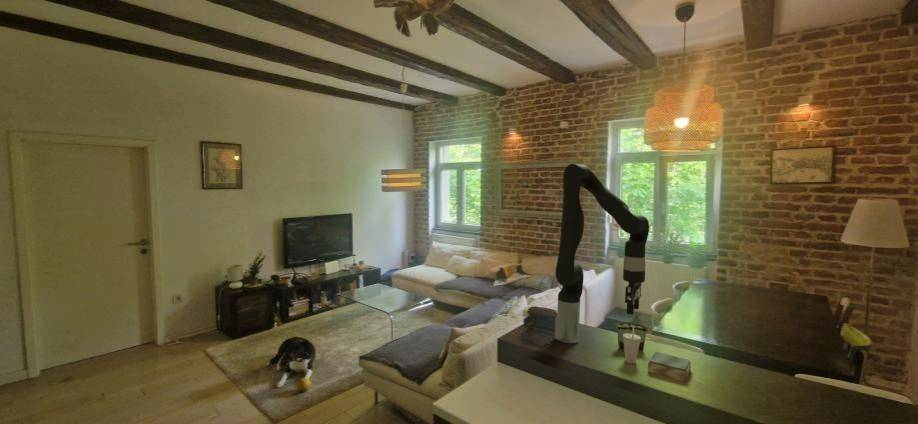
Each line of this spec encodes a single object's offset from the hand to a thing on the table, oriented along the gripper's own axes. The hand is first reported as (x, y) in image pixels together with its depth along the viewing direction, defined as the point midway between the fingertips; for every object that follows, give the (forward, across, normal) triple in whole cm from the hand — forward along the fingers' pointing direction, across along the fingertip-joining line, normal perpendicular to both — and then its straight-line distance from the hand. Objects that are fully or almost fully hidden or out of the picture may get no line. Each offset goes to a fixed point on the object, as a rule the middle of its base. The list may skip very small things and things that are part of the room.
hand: (632, 311), depth 146 cm
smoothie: (+19, 0, 0) cm, 19 cm away
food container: (+19, -14, -4) cm, 24 cm away
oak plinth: (+19, 0, +13) cm, 23 cm away
